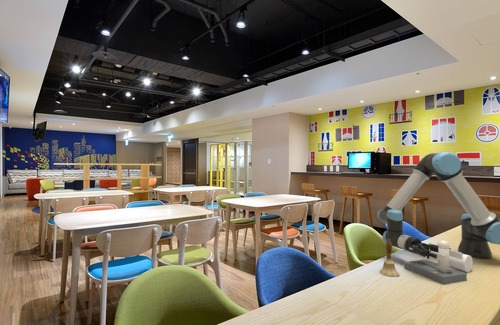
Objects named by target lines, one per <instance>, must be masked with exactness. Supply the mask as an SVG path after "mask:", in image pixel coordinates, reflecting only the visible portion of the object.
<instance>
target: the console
mask: <svg viewBox="0 0 500 325" xmlns="http://www.w3.org/2000/svg"><path fill="white" fill-rule="evenodd" d="M436 266H438V262H435V261H432V260H429V259H427V258H426V259H419V260H418V259H417V260H412V261H411V260H410V261H409V260H408V261H404V262H403V269H404V270H408V271H409V272H412V273H414V274H416V275H419V276H421V277H424V278H425V279H429V280H431V281H434V282H435V283H438V284H441V285H447V284H453V283H460V282H466V281H467V280H468V279H467V278H468V274H467V272H464V271H460V270H457V269H453V268H452V272H446V273H443V272H440V271H438V270H436Z"/></svg>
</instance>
